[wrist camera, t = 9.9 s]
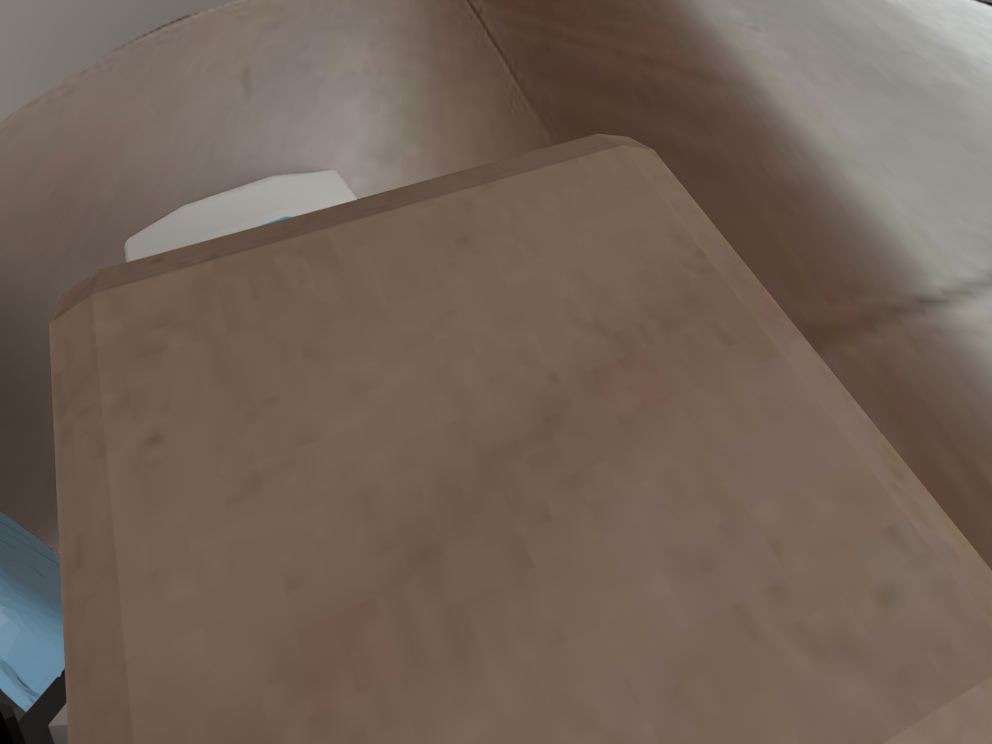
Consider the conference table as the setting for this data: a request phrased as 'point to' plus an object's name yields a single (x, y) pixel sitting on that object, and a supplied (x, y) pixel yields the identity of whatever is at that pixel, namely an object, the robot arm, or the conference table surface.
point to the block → (491, 487)
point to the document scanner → (240, 211)
